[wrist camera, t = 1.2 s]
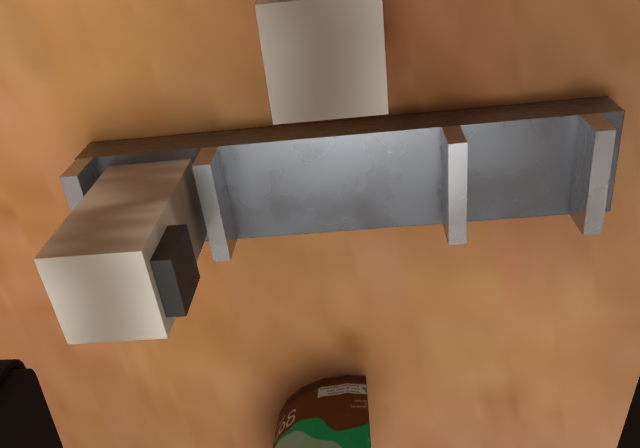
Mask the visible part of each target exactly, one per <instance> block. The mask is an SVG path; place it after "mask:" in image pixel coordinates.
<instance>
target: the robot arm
mask: <svg viewBox="0 0 640 448" xmlns="http://www.w3.org/2000/svg"><path fill="white" fill-rule="evenodd" d="M0 448H63V446H62V443H61V441H60V438H59V435H58V432H57V430H56V427H55V424H54V422H53V419H52V416H51V414H50V411H49V408H48V406H47V403H46V400H45V397H44V395H43V392H42V389H41V387H40V384H39V381H38V379H37V376H36V374H35V372H34V371H33V370H32V369H26V367H25V366H24V364H23V362H21V361H20V360H16V359H12V360H0ZM617 448H640V377H639V380H638V383H637V386H636V389H635V393H634V396H633V399H632V402H631V405H630V408H629V412H628V415H627V418H626V421H625V424H624V427H623V430H622V434H621V437H620V440H619V443H618V446H617Z"/></svg>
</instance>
